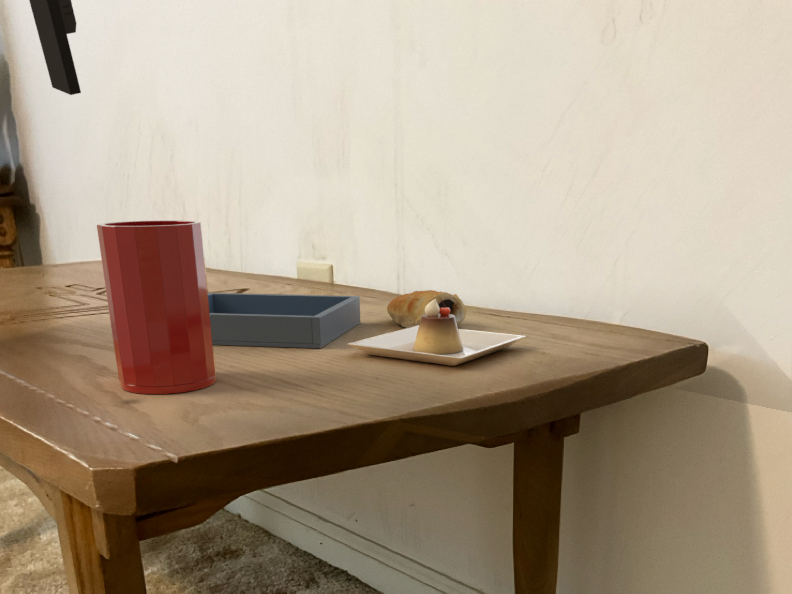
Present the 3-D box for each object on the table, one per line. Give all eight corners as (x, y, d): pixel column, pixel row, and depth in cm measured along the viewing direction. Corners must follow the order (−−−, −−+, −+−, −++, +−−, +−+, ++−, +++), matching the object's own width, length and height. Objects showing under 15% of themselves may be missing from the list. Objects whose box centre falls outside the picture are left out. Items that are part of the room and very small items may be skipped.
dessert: (525, 347, 80) (528, 295, 78) (460, 371, 71) (461, 312, 69) (419, 335, 86) (419, 286, 84) (346, 356, 77) (344, 301, 75)
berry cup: (102, 392, 65) (77, 226, 60) (148, 371, 72) (129, 220, 67) (191, 396, 64) (173, 226, 59) (230, 374, 70) (216, 220, 66)
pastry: (372, 321, 94) (371, 286, 92) (420, 316, 98) (420, 281, 96) (423, 333, 87) (424, 295, 86) (473, 327, 91) (474, 290, 89)
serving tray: (150, 342, 84) (146, 312, 83) (211, 318, 97) (209, 292, 96) (321, 348, 80) (319, 317, 79) (360, 323, 93) (359, 296, 92)
